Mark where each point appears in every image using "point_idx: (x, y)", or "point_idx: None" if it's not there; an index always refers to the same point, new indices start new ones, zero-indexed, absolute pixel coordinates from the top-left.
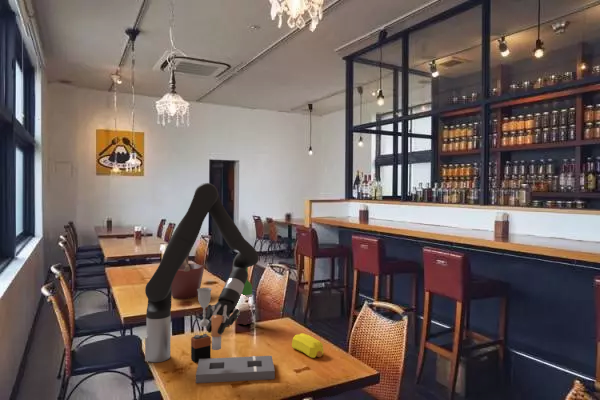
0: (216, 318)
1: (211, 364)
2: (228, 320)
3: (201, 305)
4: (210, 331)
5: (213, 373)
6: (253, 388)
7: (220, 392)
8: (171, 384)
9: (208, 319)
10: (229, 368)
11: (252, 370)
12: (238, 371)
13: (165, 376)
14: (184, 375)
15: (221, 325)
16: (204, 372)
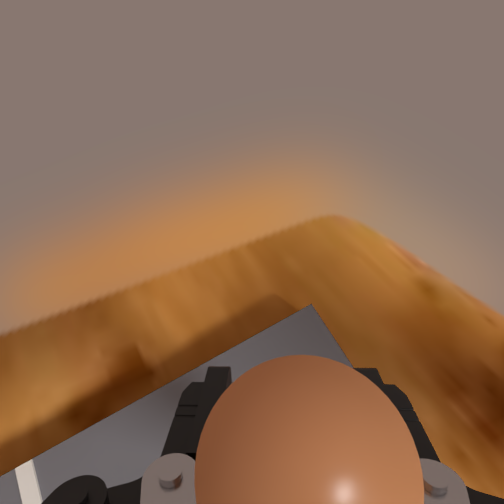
0: (258, 366)
1: None
2: (74, 489)
3: None
4: None
5: (239, 350)
6: (39, 372)
7: (166, 288)
8: (391, 270)
9: (498, 501)
10: None
11: (45, 475)
12: (121, 426)
13: (478, 319)
14: (410, 363)
15: (197, 419)
16: (288, 342)
